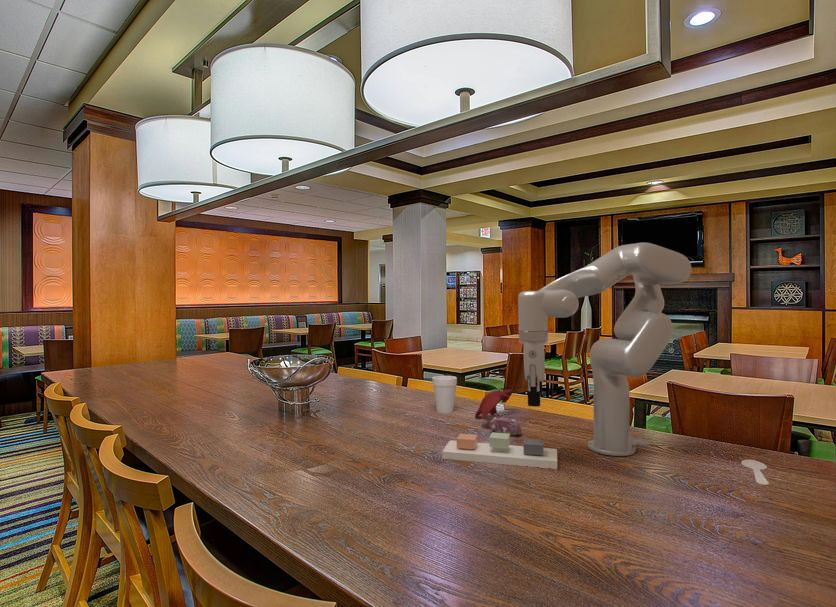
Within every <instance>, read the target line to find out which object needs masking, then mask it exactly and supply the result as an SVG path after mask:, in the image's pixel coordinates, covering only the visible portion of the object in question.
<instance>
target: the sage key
mask: <svg viewBox="0 0 836 607" xmlns="http://www.w3.org/2000/svg"><path fill="white" fill-rule="evenodd" d="M488 439H489V440H488V441H489V442H488V443H489V447H497V448H509V445H511V436H510V434H507V433H505V432H503V433H496V432H495V431H492V432H491V433H490V435H489V438H488Z"/></svg>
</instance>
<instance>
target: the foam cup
mask: <svg viewBox="0 0 836 607" xmlns="http://www.w3.org/2000/svg"><path fill="white" fill-rule="evenodd" d="M457 384H458V378H457V376H453V375H434V376H432V386H433V394H434V400H435V401H434V402H435V408H436V413H438V412H439V414H451V412H452V413H453V412H454V409H455V408H454V406H455V398H456V390H457Z"/></svg>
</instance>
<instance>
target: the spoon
mask: <svg viewBox="0 0 836 607" xmlns="http://www.w3.org/2000/svg"><path fill="white" fill-rule="evenodd" d="M740 463H741V465H742V466H743V467H746V468H749V469H752V471H753V475H754V478H755V482H756V483H757V484H759V485H764V486H768V485H770V483H769V481H768V480H767V478H765V475H764V474H763V473H762V472H761V470H766V469H767V468H768V467H767V465H766V464H765V463H763V462H760V461H758V460H755V459H744V460H742V461H741V462H740Z"/></svg>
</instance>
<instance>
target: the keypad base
mask: <svg viewBox="0 0 836 607" xmlns="http://www.w3.org/2000/svg"><path fill="white" fill-rule="evenodd" d="M441 457H442V458H441V459H442V460H452V461H462V462H463V461H464V462H474V463H483V464H484V463H486V464H494V465H495V464H496V465H506V466H507V465H508V466H516V465H517V466H518V467H526V466H528V468H537V467H539V469H548V468H551V470H558V449H557V448H548V447H544V450H543V455H535V454H524V445H514V444H513V445H512V444H509V448H497V447H489V442H487V443H486V442H478V444H477V446H476V448H475V449H465V448H457V440H451V439H450V440H449V441H448V443H447V444H446V446H445V447H444V448H443V450H442V452H441Z"/></svg>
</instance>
